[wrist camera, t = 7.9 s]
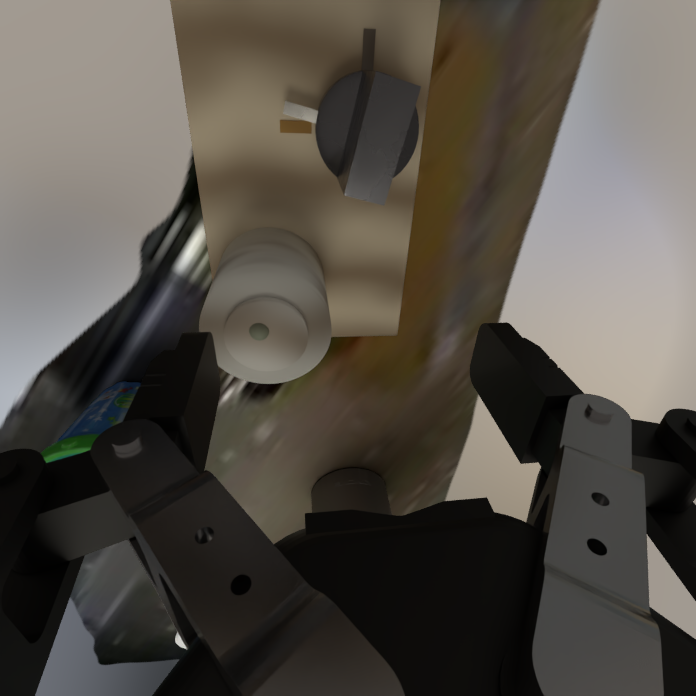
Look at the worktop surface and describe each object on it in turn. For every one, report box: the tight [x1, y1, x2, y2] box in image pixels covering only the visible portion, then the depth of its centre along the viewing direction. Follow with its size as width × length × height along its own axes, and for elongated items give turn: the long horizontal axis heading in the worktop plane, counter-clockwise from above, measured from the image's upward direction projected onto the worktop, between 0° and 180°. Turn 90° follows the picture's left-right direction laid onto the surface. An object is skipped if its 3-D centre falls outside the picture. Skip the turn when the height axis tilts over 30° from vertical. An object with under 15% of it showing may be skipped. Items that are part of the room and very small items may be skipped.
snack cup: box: [41, 381, 141, 463], centre depth 36 cm, size 16×10×10 cm
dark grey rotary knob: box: [283, 70, 421, 206], centre depth 24 cm, size 8×6×6 cm
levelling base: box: [170, 0, 440, 384], centre depth 26 cm, size 24×15×11 cm, turn 178°
